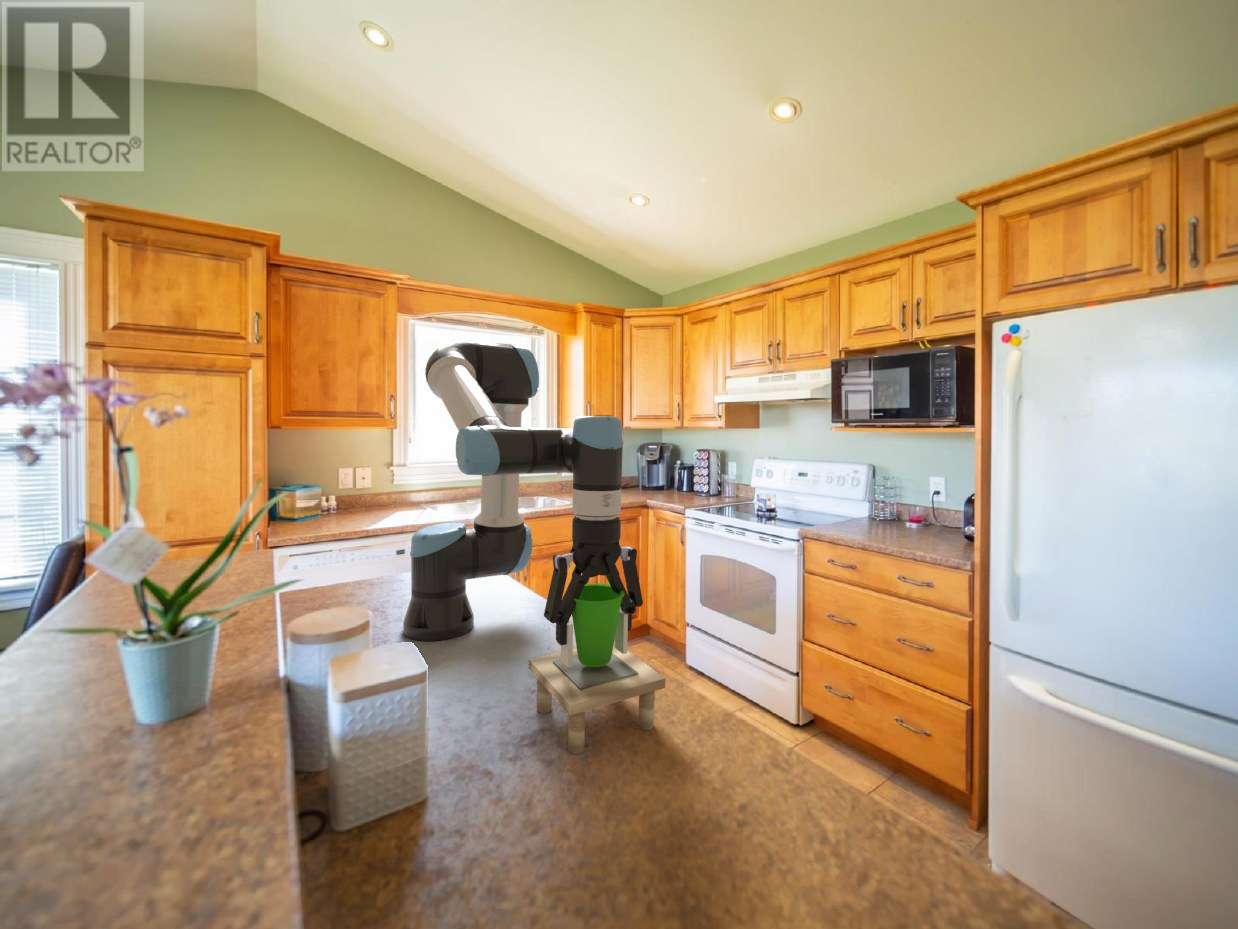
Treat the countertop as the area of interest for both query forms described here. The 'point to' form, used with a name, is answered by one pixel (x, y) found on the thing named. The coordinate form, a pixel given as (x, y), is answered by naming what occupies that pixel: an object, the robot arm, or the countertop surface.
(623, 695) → the stool
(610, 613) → the cup
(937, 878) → the countertop surface
